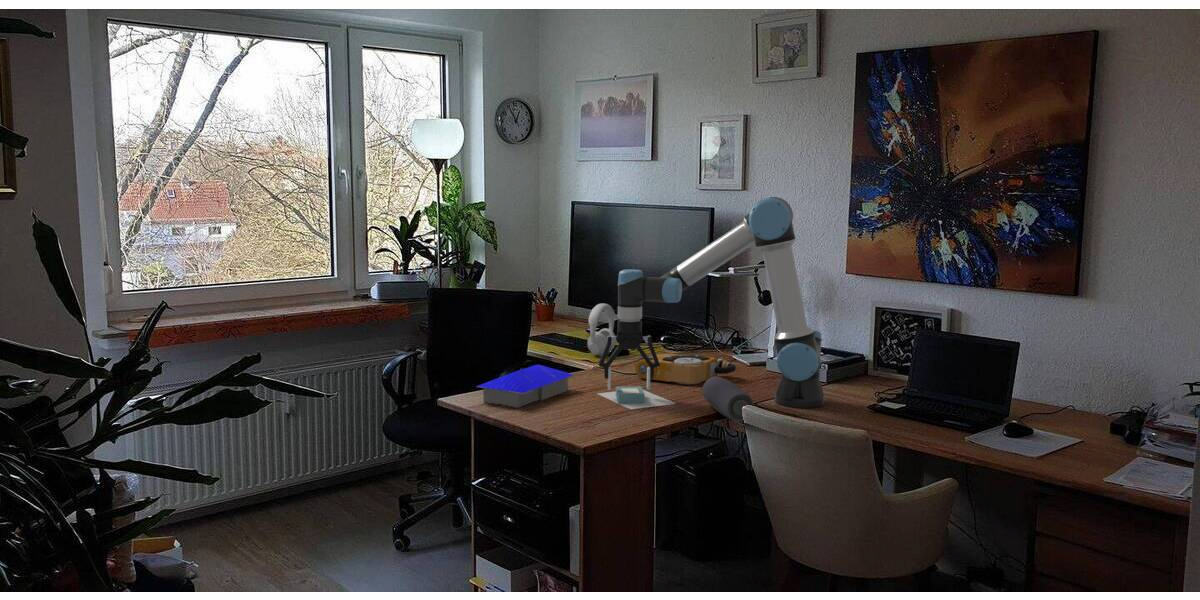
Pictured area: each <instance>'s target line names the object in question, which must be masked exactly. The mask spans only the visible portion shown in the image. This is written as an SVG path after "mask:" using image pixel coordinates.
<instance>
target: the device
mask: <svg viewBox="0 0 1200 600" xmlns="http://www.w3.org/2000/svg"><path fill="white" fill-rule="evenodd" d="M656 356H657V358H658V361H659V363H660V366H659V367H655V368H654V377H653V379H650V381H653V380H655V381H662V382H670V383H676V384H681V385H698V384H700V383H702V382H706V381H707V380H708V379H709V378H711V377H718V374H719V375H723V374H724V375H725V374H730V373H734V372H735V371H736V369H737V367H736V365H734V364H732V363H731V362H729V360H724V358H718V359H717V357H711V356H703V355H699V354H698V355H697V354H696V355H694V354H687V353H686V354H676V353H661V354H656ZM648 358H649V359H650V361H651V362H652V363H655V362H654V359H653V356H652V355H651V356H648ZM634 364H635V365H634V370H635V374H636V375H637V376H638V378H639V379H642V380H644V381H645V380H646V381H647V367H650V366H649V365H648V364H647V362H646V361H645V359H644V358H643V357H642V356H641V358H638V359H637V361H636V362H635V363H634Z"/></svg>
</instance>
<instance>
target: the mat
mask: <svg viewBox="0 0 1200 600" xmlns="http://www.w3.org/2000/svg"><path fill="white" fill-rule="evenodd" d="M643 392H644V394H645V400H644V403H640V404H619V405H621V406H622V407H624V408H627V409H629V410H637V409H645V408H651V407H652V408H653V407H659V406H660V407H661V406H669V405H670V406H671V405H675V404H677V403H676V402H673V401H671V400H669V399H666V398H664V397H661V396H659V395H656V394H654V393H652V392H650V391H648V390H645V389H643ZM597 395H598V396H601V397H603V398H605V399H607V400H610V401H612V402H614V403H616V404H618V401H617V398H616V390H615V391H608V392H600V393H597Z"/></svg>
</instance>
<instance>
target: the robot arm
mask: <svg viewBox="0 0 1200 600" xmlns="http://www.w3.org/2000/svg"><path fill="white" fill-rule="evenodd" d="M793 219H794V213H793V209H792V207H791V205H790V204H789V202H787V200H785V199H783V198H781V197H778V196H770V197H765V198H763V199H760V200H758V201H757V202H756V203H754V205H753V206H752V208H751V210H750V212H749V213H748V214H747V215H745V216H744V217H743V220H742V222H741V223H739V224H738V225H737V226H734V227H733V228H732V229H730V230H729V231H727V232H726V233H724V234H723V235H721V236H720V237H719V238H717V239H715V240H714V241H712V242H710V243H709V244H708V245H707V246H705V247H704V248H702V249H700V250H699V251H697V252H696V253H694V254H693V255H692V256H689V258H687V259H685V260H684V261H683V262H681V263H680V264H678V265H677V266H676V267H674V268H672V269H671V270H669V271H667V272H666V273H664V274H663V275H662V276H660V277H659V276H657V277H652V276H651V277H649V276H644V274H643V270H641V269H631V268H629V269H622V270H620V271H619V272H618V279H617V319H618V320H617V334H616V335H615V336H610V335H608V336H607V344H606V346H605V349H604V351H603V354H602V356H600V358H599V360H598V366H599V367H601V368H603V369H604V370H603V373H604V378H605V379H606V380H607V391H610V390H611V387H612V376H611V375H612V368H611V365H612V364H613V362H615V361H614V360H616V359H617V357H618V356H619V354H620V353H621V352H622V350H625V351H628V350H631V351H635V350H637V351H638V353H639V354H640V355H641V358H642V357H643V358H644V359H645V361H646V362H647V364H648V365H649V366H650V367H647V380H646V389H647V391H648V390H649V391H650V390H651V380H650V379H653V377H654V368H655V367H659V366H660V363H659V361H658V358H657V356H656V355H657V354H656V351H655V348H654V346H653V338H652V336H651V335H649V334H647V335H645V336H643V331H642V330H643V329H642V328H643V321H642V318H643V302H649V303H650V302H651V303H652V302H653V303H666V304H670V303H671V304H672V303H680V301H682V300H681V299H682V297H683V296H682V295H683V292H684V291H685V290H687V289H688V288H689V287H691V286H692V285H694V284H695V283H696V282H698V281H700V280H701V279H703V278H704V277H706V276H707V275H709V274H710V273H712V272H714V271H715V270H717V269H718V268H719V267H721V266H723V265H725V264H726V263H727V262H729V261H731V260H732V259H734V258H735V257H736V256H738V255H740V254H741V253H743V252H744V251H746V250H747V249H749V248H751V247H752V246H753V245H755V247H756V248H755V249H757V250H759V251H760V252H761V253H762V257H763V261H764V262H763V263H764V266H765V272H766V276H767V282H768V283H767V284H768V287H769V292H770V297H771V302H772V307H773V311H774V317H775V318H774V319H775V321H776V327H777V332H776V334H775V336H774V344H775V349H776V354H777V357H776V365H777V367H778V370H779V372H780V373H781V378H780V380H779V383H778V386H777V389H776V391H775V394H774V402H775V403H777V404H779V405H781V406H786V407H791V408H798V409H799V408H802V409H803V408H804V409H806V408H807V409H809V408H810V409H811V408H819V407H822V406H824V405H825V394H824V391H823V386H822V382H821V378H820V376H821V374H820V373H821V370H820V369H821V352H822V351H821V350H822V349H821V348H822V342H823V339H822V332H821V331H819V330H815V329H812V327H810V326H809V325H807V319H806V313H805V309H804V302H803V299H802V294H801V288H800V283H799V277H798V273H797V269H796V268H797V267H796V262H795V258H794V254H793V253H794V252H793V248H792V246H793V244H794V243H795V242H796V236H795V230H794V226H793V225H794V224H793ZM615 340H616V343H618V345H617V347H615V348H614V349H615V350H614V351H613V352H612V354H610V357H608V359H607V360H606V358H607V355H608V354H609V353H608V351H609V349H610V347H611V343H613V342H614V341H615ZM643 341H644V342H645V344H647V346H648V348H649V351H650V353H651V356H653V359H654V362H655V363H652V362H651V361H650V359H649V358H648V357H649V356H648V355H647V353H646V352H645V351H644V349H643V347H641V344H642V342H643ZM605 361H606V362H605Z"/></svg>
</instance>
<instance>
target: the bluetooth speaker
mask: <svg viewBox="0 0 1200 600" xmlns="http://www.w3.org/2000/svg"><path fill="white" fill-rule="evenodd" d="M701 391H702V397H703V398H704V399H705V401H706V402H707V403H708V404H709V405H710V406H711V407H712V408H713V409H715V410H716V411H717V412H718V414H721V416H722V417H725V419H726V420H727V421H731V422H732V421H734V422H737V423H738V422H744V421H743V417H742V407H743V406H746V405H752V406H755V403H754V400H753V398H752V397H751V396H750V394H748V393H747V392H746V391H745V390H743V389H742V388H741V387H739V385H736V384H735V383H733V382H732V381H730V380H728V379H726V378H724V377H721V376H716V377H711V378H709V379H708V380H705V381H704V384H703V385H702V390H701Z"/></svg>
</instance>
